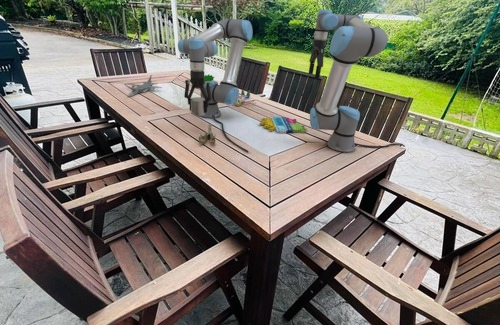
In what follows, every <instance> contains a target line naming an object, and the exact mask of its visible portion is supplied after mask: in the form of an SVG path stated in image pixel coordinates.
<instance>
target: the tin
mask: <svg viewBox="0 0 500 325" xmlns="http://www.w3.org/2000/svg"><path fill="white" fill-rule="evenodd" d="M204 101H205V99H204V98H201V96H198V97H197V96H196V97H191V111H190V114H191V115H192V116H196V117H201V116H202V115H205V114H206V113H204Z"/></svg>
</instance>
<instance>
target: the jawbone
mask: <svg viewBox="0 0 500 325" xmlns="http://www.w3.org/2000/svg"><path fill="white" fill-rule="evenodd" d="M212 126H213V124H212V123H209V124H208V126H207V127H208V129H207V131H205V132H204V134H203V135H202V133H201V132H198V133H199V136H198V142H199V143H198V145H200V146H202V145H204V143H206V142H207V141H210V143H211V145H212V146H216V141H217V140H216V134H213V130H212Z"/></svg>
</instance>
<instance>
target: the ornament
mask: <svg viewBox="0 0 500 325" xmlns="http://www.w3.org/2000/svg"><path fill="white" fill-rule="evenodd" d="M204 79H205V81H206V82H207V81H214V79H215V76H213V75H212V74H210V73H209V74H204Z"/></svg>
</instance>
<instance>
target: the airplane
mask: <svg viewBox="0 0 500 325" xmlns="http://www.w3.org/2000/svg"><path fill="white" fill-rule="evenodd" d="M152 76H153V74H151V75H150V76H149V78H148V79H147V82H146V81H142V84H136V83H135V84H134V83H128V85H130V86H131V87H130V89H132V90H131V91H130V92H129V93H128V95H127V96H126V98H128V97H133V96H135V95H137V94H139V93H146V92H147V91H148V92H149V90H150V91H153V90H155V89H157V88H159V89H162V88H163V86H155V85H159V82H158V83H157V82H153V81H152Z"/></svg>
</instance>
